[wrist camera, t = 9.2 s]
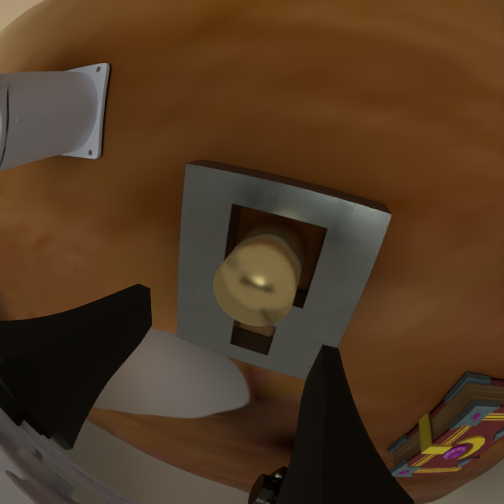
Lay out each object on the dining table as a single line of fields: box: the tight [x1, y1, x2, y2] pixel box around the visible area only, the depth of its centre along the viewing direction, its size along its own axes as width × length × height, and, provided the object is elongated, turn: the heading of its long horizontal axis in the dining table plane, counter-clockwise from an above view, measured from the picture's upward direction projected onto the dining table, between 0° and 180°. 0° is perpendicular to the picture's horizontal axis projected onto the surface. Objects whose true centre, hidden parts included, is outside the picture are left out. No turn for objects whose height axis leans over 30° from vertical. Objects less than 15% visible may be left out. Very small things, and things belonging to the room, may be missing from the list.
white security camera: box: [248, 466, 288, 504], centre depth 23 cm, size 6×12×12 cm, turn 72°
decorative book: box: [388, 372, 504, 477], centre depth 19 cm, size 11×16×5 cm
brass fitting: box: [213, 216, 307, 327], centre depth 16 cm, size 4×4×6 cm
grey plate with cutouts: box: [177, 160, 392, 380], centre depth 19 cm, size 12×14×2 cm
